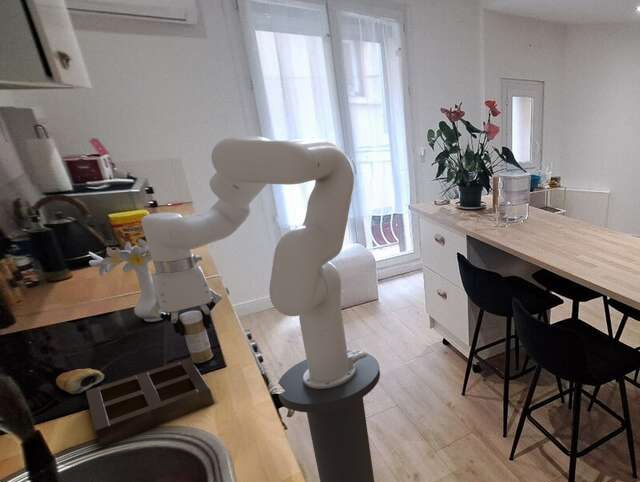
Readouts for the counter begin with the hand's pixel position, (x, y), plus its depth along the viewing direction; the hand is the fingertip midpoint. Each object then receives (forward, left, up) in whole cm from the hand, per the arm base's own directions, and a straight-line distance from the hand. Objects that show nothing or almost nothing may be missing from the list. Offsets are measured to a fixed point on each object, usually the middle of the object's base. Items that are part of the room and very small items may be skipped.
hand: (194, 330), depth 105 cm
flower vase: (+4, -38, -9) cm, 39 cm away
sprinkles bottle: (0, 0, -9) cm, 9 cm away
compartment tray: (+12, +14, -9) cm, 20 cm away
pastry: (+22, -7, -9) cm, 25 cm away
